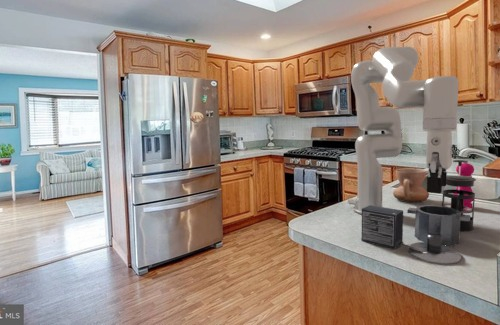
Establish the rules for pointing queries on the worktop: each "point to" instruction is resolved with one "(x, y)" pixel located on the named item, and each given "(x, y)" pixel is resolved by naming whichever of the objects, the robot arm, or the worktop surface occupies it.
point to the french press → (461, 196)
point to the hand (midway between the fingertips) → (436, 189)
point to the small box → (382, 226)
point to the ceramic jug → (411, 185)
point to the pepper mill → (465, 171)
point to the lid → (434, 251)
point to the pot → (438, 222)
